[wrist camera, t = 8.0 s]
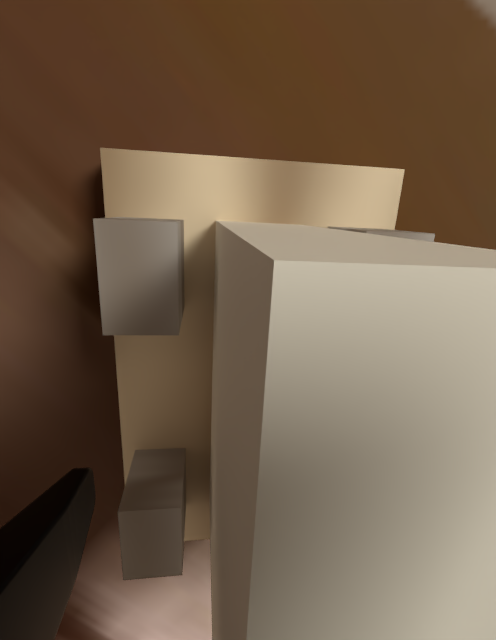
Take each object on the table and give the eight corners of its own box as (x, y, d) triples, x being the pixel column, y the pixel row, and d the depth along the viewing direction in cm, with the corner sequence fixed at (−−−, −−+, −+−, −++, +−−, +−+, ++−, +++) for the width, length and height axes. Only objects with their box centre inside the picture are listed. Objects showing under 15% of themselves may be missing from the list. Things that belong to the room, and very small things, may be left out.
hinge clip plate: (382, 174, 13) (468, 155, 9) (332, 503, 18) (373, 594, 14) (112, 155, 12) (61, 123, 8) (135, 516, 17) (112, 622, 12)
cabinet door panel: (302, 224, 12) (686, 275, 2) (276, 500, 15) (391, 955, 6) (215, 220, 12) (273, 259, 2) (209, 504, 15) (220, 999, 6)
